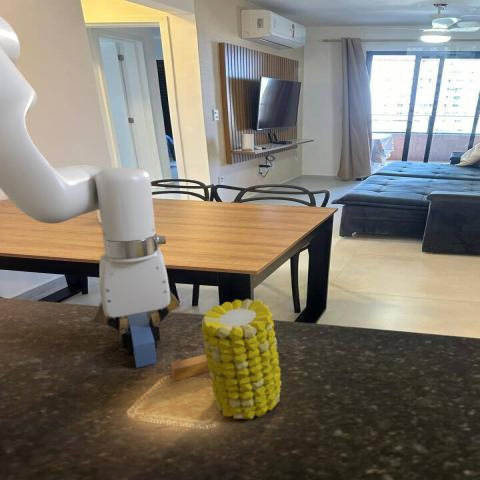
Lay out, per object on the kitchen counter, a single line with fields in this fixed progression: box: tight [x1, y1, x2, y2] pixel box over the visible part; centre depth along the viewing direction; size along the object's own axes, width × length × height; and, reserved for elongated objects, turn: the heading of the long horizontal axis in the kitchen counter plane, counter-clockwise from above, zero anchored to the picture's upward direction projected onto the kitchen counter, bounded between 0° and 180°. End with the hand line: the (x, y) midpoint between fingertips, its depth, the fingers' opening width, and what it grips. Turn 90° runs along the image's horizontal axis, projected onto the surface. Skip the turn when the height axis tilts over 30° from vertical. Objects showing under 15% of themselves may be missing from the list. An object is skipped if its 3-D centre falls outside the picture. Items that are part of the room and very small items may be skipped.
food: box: [201, 298, 282, 420], centre depth 52 cm, size 15×12×10 cm
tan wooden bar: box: [170, 353, 210, 382], centre depth 61 cm, size 12×2×2 cm, turn 120°
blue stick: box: [128, 312, 158, 369], centre depth 66 cm, size 12×3×4 cm, turn 30°
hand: (142, 346), depth 66 cm, fingers closed on blue stick, 3 cm apart
